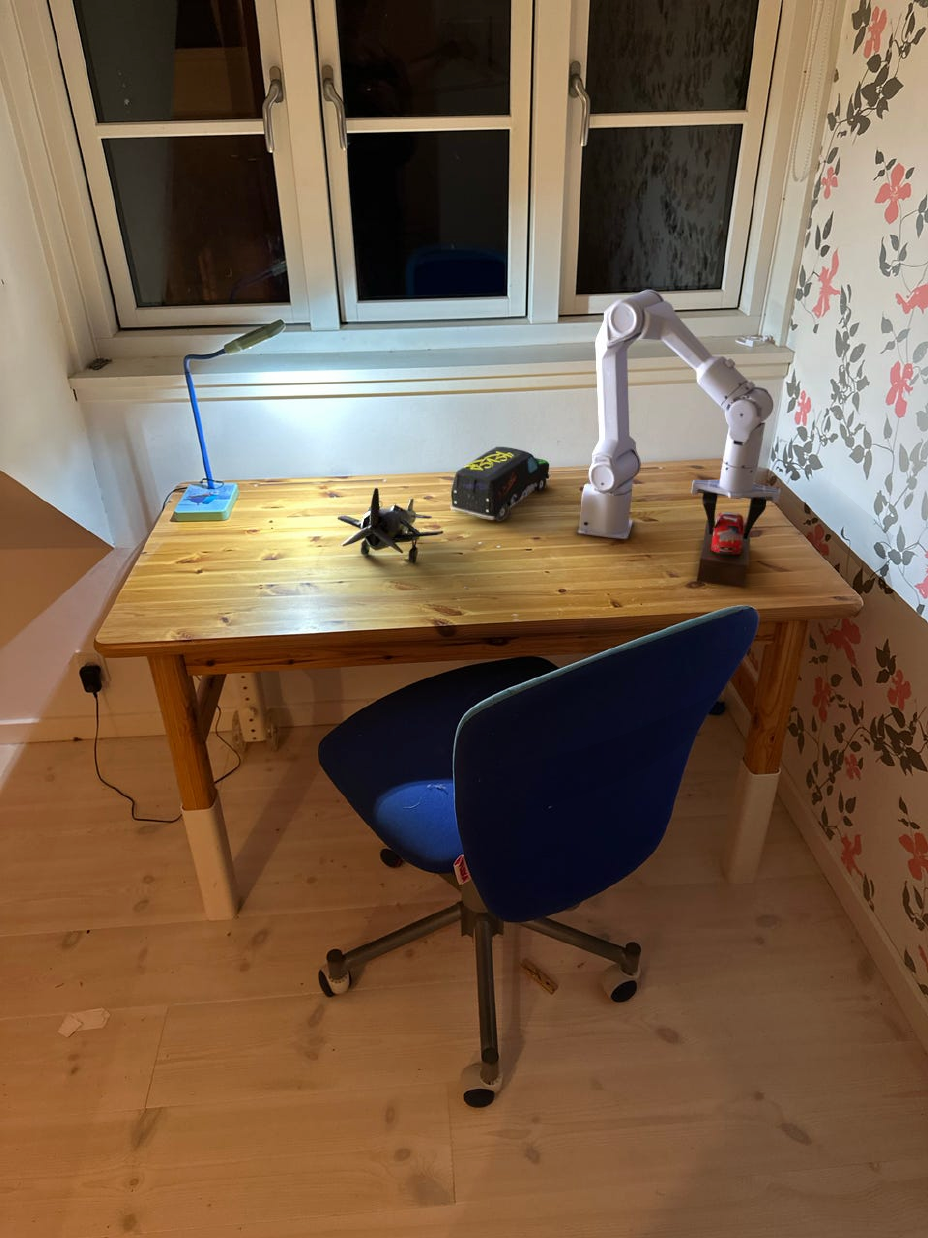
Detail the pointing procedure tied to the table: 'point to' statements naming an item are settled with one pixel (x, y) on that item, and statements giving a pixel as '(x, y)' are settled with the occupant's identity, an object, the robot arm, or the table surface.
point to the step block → (723, 563)
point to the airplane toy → (387, 528)
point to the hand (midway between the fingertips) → (727, 534)
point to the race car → (728, 533)
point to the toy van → (497, 482)
